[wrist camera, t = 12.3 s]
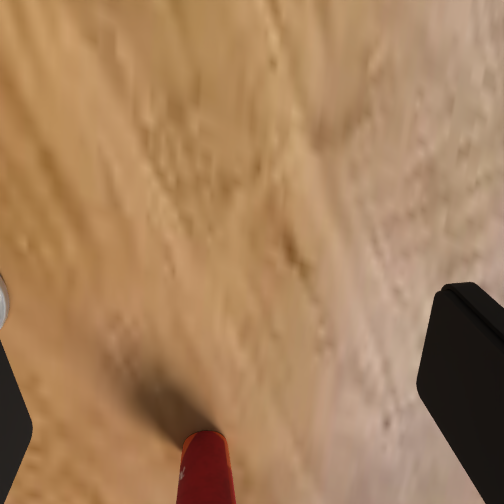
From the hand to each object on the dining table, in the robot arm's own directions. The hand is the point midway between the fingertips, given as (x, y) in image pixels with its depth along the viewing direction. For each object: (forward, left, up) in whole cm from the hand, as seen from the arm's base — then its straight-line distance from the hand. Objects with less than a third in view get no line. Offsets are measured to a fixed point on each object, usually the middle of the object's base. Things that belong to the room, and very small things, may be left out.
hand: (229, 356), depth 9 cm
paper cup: (-3, -39, -28) cm, 48 cm away
